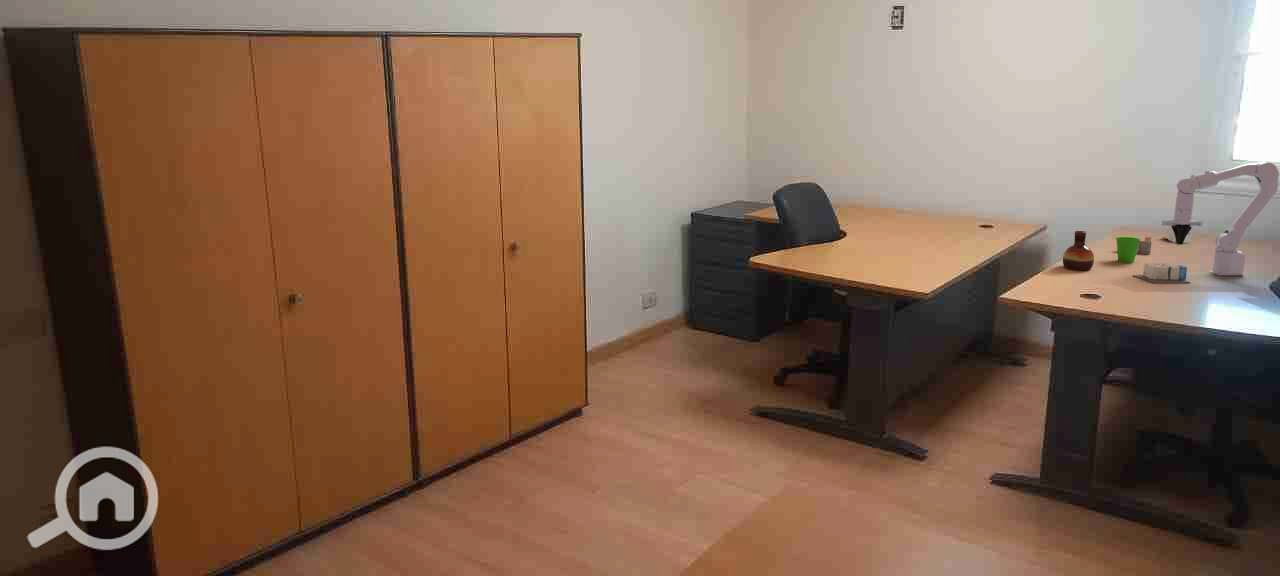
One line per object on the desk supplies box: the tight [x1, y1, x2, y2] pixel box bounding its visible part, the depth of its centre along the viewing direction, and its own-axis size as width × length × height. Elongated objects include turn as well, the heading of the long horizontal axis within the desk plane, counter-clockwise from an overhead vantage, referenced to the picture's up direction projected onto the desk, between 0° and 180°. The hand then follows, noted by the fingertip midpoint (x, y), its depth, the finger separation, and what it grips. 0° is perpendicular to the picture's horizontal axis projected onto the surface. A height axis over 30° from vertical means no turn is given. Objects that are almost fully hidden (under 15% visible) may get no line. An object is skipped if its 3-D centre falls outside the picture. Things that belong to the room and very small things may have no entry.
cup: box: [1115, 236, 1142, 264], centre depth 366 cm, size 9×9×11 cm
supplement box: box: [1166, 223, 1193, 244], centre depth 407 cm, size 7×7×13 cm
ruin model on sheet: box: [1136, 236, 1153, 255], centre depth 384 cm, size 11×3×10 cm, turn 59°
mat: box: [1132, 274, 1191, 284], centre depth 336 cm, size 13×15×1 cm
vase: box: [1062, 230, 1095, 272], centre depth 355 cm, size 11×11×15 cm
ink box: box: [1142, 262, 1188, 281], centre depth 337 cm, size 9×5×12 cm
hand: (1179, 244), depth 352 cm, fingers closed
